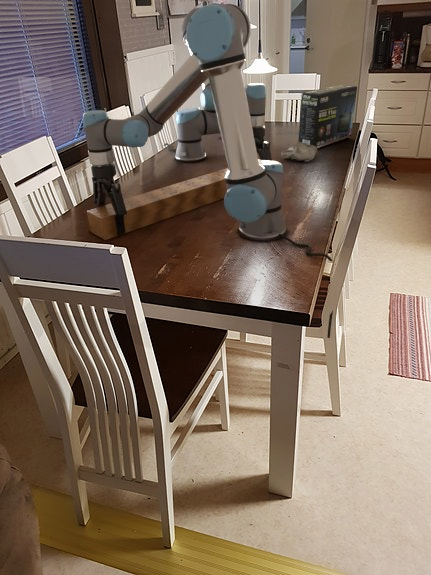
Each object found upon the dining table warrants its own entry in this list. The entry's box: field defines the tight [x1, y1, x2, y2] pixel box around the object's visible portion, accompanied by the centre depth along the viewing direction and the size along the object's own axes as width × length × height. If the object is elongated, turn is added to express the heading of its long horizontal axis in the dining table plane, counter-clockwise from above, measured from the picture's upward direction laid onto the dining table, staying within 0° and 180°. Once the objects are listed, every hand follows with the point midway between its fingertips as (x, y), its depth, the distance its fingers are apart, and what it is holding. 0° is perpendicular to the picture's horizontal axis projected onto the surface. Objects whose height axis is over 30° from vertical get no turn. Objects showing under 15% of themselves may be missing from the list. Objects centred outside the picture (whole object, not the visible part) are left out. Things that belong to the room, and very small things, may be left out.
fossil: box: [280, 141, 318, 163], centre depth 221 cm, size 18×11×15 cm
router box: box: [297, 84, 358, 147], centre depth 238 cm, size 36×11×27 cm, turn 134°
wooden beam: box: [86, 167, 228, 241], centre depth 173 cm, size 81×10×8 cm, turn 132°
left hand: (255, 180), depth 194 cm, fingers closed on wooden beam, 10 cm apart
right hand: (113, 229), depth 155 cm, fingers closed on wooden beam, 10 cm apart
